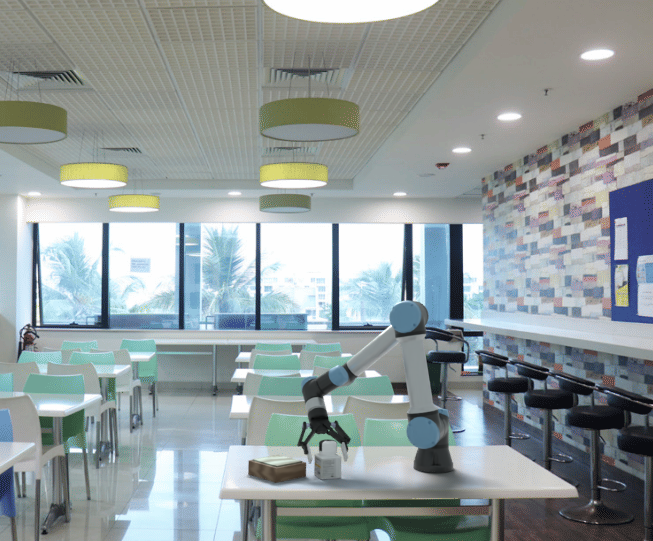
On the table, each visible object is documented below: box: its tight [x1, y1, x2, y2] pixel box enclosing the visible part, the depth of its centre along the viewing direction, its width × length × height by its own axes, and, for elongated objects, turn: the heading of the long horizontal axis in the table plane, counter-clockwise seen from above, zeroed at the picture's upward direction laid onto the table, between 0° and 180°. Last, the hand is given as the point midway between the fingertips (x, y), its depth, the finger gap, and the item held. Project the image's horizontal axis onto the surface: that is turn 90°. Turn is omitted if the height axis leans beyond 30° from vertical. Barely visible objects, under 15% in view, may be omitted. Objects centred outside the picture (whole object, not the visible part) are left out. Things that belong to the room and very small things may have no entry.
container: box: [313, 439, 342, 481], centre depth 249 cm, size 8×8×13 cm
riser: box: [247, 454, 307, 484], centre depth 249 cm, size 16×14×6 cm
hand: (328, 460), depth 247 cm, fingers open, 13 cm apart
